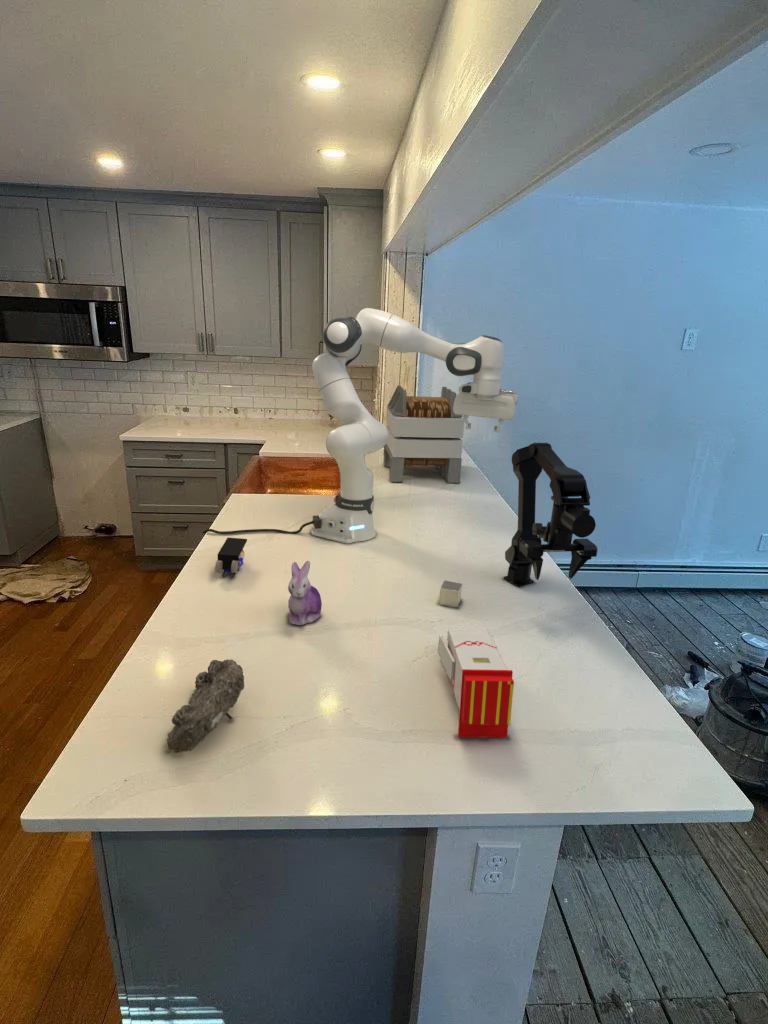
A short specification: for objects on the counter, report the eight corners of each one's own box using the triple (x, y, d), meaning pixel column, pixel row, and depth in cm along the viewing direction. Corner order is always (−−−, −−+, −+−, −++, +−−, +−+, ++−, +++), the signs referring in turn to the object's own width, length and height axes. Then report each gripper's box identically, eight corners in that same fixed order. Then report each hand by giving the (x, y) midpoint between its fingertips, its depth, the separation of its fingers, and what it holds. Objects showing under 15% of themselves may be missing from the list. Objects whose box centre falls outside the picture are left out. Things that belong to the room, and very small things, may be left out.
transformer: (382, 463, 289) (386, 382, 275) (445, 464, 293) (451, 384, 279) (390, 482, 257) (394, 392, 243) (460, 483, 261) (468, 394, 247)
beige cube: (456, 607, 152) (458, 591, 150) (438, 604, 153) (440, 588, 152) (460, 599, 156) (462, 583, 155) (443, 596, 158) (444, 580, 156)
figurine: (293, 630, 138) (292, 574, 133) (280, 610, 146) (279, 557, 141) (329, 622, 142) (330, 568, 137) (314, 603, 150) (315, 552, 145)
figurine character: (238, 584, 162) (249, 557, 175) (236, 562, 158) (247, 536, 172) (215, 584, 161) (227, 556, 175) (212, 561, 158) (225, 535, 171)
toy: (488, 613, 130) (523, 677, 101) (484, 667, 133) (517, 744, 104) (435, 612, 130) (455, 676, 101) (432, 666, 133) (451, 743, 103)
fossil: (192, 660, 117) (244, 628, 112) (224, 691, 120) (276, 661, 115) (142, 746, 98) (202, 712, 93) (182, 779, 101) (242, 748, 96)
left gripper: (520, 389, 183) (514, 432, 188) (457, 384, 189) (454, 425, 194) (517, 392, 178) (512, 435, 183) (453, 386, 184) (450, 428, 188)
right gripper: (581, 510, 150) (572, 564, 155) (514, 511, 147) (507, 566, 152) (603, 526, 140) (592, 582, 145) (532, 527, 137) (523, 585, 142)
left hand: (482, 430), depth 188 cm, fingers open, 8 cm apart
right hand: (553, 578), depth 146 cm, fingers open, 9 cm apart
